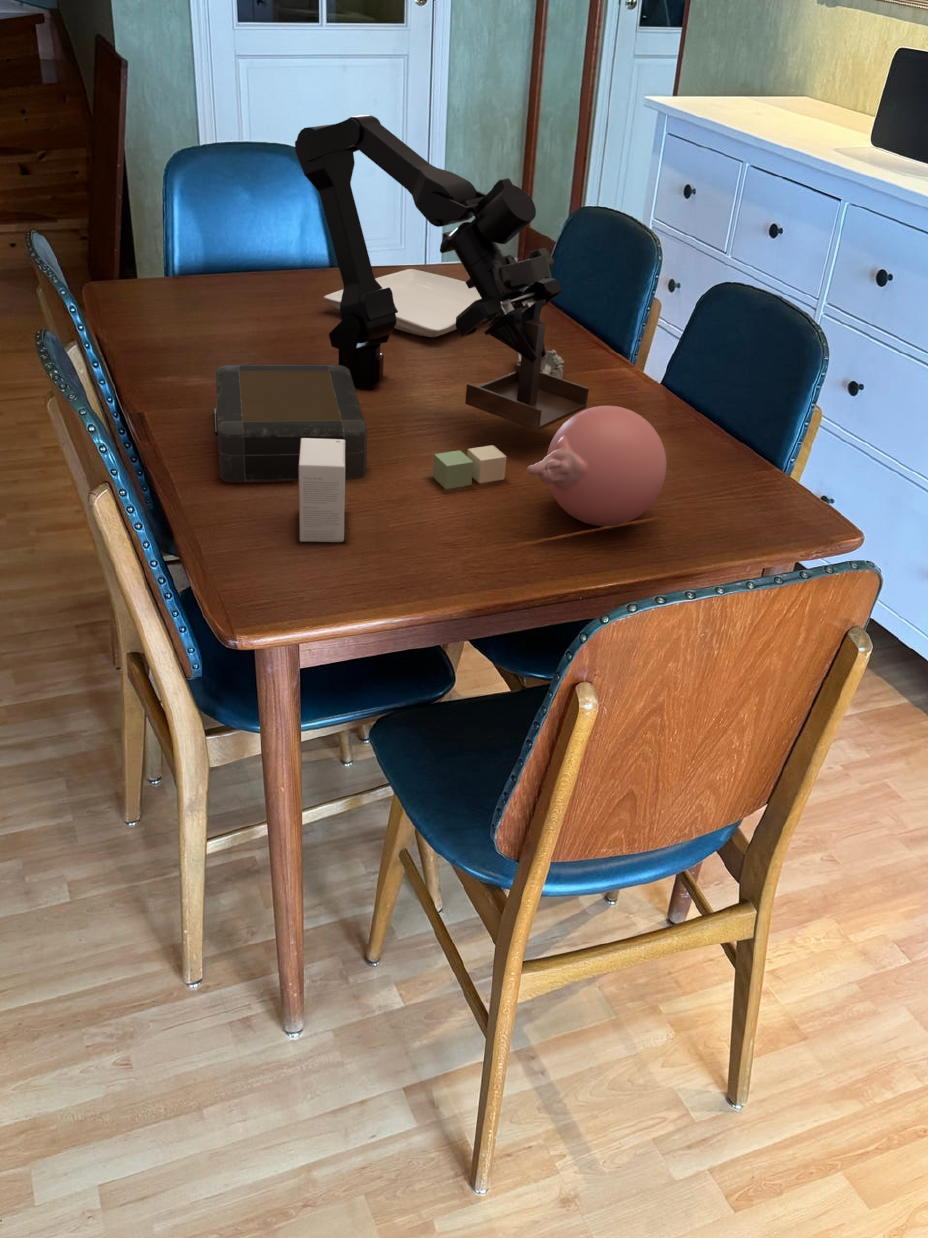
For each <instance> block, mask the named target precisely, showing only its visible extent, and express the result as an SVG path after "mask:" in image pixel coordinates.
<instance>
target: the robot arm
mask: <svg viewBox="0 0 928 1238" xmlns="http://www.w3.org/2000/svg"><path fill="white" fill-rule="evenodd" d="M294 149H295V155H296V158H297V159H298V162H299V165H300V167H301V170H302V172H303V175H304V176H305V178H307V180H308V181H309V182H310V183H311V184H312V186H313V187H314V188H315V189H316V190H317V192H318V194H319V197H320V200H321V205H322V209H323V213H324V216H325V220H326V223H327V228H328V232H329V235H330V239H331V242H332V246H333V249H334V254H335V257H336V261H337V265H338V269H339V273H340V276H341V280H342V284H343V294H342V299H341V303H340V309H339V311H340V317H341V320H340V322H339V323H338V324H337V325H335V327H334V328H333V329H332V330H331V331H330V332H328V337H329V341H330V346H331V347H332V348H334V349H337V350H338V365H342V366H344V367H346V368H348V369H349V370H350V374H351V377H352V380H353V384H354V387H355V388H358V389H366V390H374V389H375V388H376V386H377V385H378V384H379V383H380V382H381V380H382V379H383V378H384V359H385V357H384V356H385V355H384V353H381V345H382V344H386V343H388V342H389V339H390V337H391V333H393V331H394V329H395V328H394V326H395V325H396V314H395V313H398V310H397V309H396V307H395V304H394V301H393V294H392V291H391V289H390V287H387V288H382V287H381V286H380V284H379V283H378V282H377V281H376V280H375V279H376V277H375V275H374V271H373V267H372V263H371V259H370V255H369V251H368V248H367V244H366V239H365V236H364V232H363V229H362V224H361V221H360V216H359V213H358V209H357V204H356V201H355V198H354V197H355V196H354V194H353V190H352V185H351V184H352V183H351V182H352V178H353V174H354V173H353V172H354V169H355V165H356V164H355V156H354V153H356V152H359V151H360V152H361V154H363V155H364V156H365V157H367V158H368V159H369V160H370V161H371V162H373V163H374V164H375V165H377V167H379V168H380V169H381V170H383V172H385V173H386V174H387V175H389V176H390V177H391V178H392V179H394V181H396V182H397V183H398V184H400V185H401V186H402V187H403V188H404V189H406V190H407V191H408V193H409V194H410V195H411V197H412V200H413V203H414V206H415V208H416V209H417V210H418V211H419V212H420V213H421V215H422V216H423V217H424V218H425V219H426V221H428V222H429V223H430V225H432V226H434V227H437V228H439V227H440V228H442V227H446V226H450V225H455V224H458V223H460V224H459V225H458V226H457V227H456V228H455V229H454V230H449V231H445V232H443V233H442V239H441V243H440V245H439V253H440V254H445V253H449V252H452V251H453V252H455V255H456V256H457V258H458V260H459V261H460V264H461V265H462V267H463V269H464V270H465V272H466V274H467V276H468V277H469V279H468V280H467V281H465V282H466V285H467V286H468V288H469V289H470V288H473V287H475V288H476V290H477V291H478V293H479V295H480V297H481V298H482V299H479V300H476V301H474V302H473V303H472V304H471V305H470V306H468V307H467V308H466V309H465V310H464V311H463V312H462V313H460V314H459V315H458V316H457V317H456V328H457V329H456V330H457V332H458V333H459V335H460V337H461V338H465V337H469V336H471V335H474V334H475V333H476V332H477V327H478V326H479V325H480V324H481V323H483V322H485V321H487V325H488V328H487V329H486V330H485V331H484V332H483V333H484V334H485V335H486V336H490V337H492V338H495V340H498V341H500V342H501V343H503V344H504V345H506V346H508V347H509V348H511V349H512V350H514V352H516V353H517V354H518V353H519V354H521V355H522V356H524V357H525V358H526V359H528V360H529V361H531V362H533V361H535V360H536V359H537V355H536V352H535V350H534V347H533V345H532V343H531V341H530V339H529V337H528V335H527V333H526V331H525V329H524V326H525V322H526V321H529V320H531V319H533V320H536V321H539V322H541V313H542V309H543V307H545V306H546V305H548V303H550V302H551V301H552V300H554V299H555V298H556V297H557V296H558V295H560V294H561V293H563V289H562V287H561V285H560V283H559V282H558V280H557V278H553V276H552V272H551V270H553V268H554V266H555V260H554V259H553V257H552V255H551V254H550V252H549V251H548V250H547V248H546V247H542V248H538V249H535V250H531V251H530V252H529V257H528V259H525V260H522V261H517V260H516V257H514V256H513V255H511V254H508V255H504V253H503V251H502V250H501V248H500V246H499V245H506V244H508V243H509V242H510V241H511V240H513V238H515V237H516V236H517V235H518V234H519V233H520V232H521V231H522V230H523V229H524V228H526V226H528V225H529V224H530V223H531V222H532V221H533V220H534V219H535V218H536V216H537V209H536V205H535V203H534V200H533V199H532V197H531V196H530V195H528V193H526V192H525V191H524V189H522V188H521V187H519V186H517V185H515V184H513V181H512V180H511V179H510V178H509V177H507V178H502V179H499V180H498V181H497V182H496V183H495V184H494V185H493V187H492V188H491V189H490V190H489V192H487V193H484V192H481V191H479V190H477V189H476V187H475V186H474V184H473V183H472V182H471V181H469V180H467V179H466V178H464V177H463V176H460V175H458V174H456V173H454V172H452V171H449V170H446V169H442V168H438V167H436V166H434V165H433V164H431V163H429V162H428V161H427V160H426V159H424V157H422V156H421V155H419V153H417V152H416V151H415V150H414V149H413V148H411V147H410V146H409V145H408V144H406V143H405V142H403V141H402V140H401V139H400V138H399V137H398V136H396V135H395V134H393V132H391V131H390V130H389V129H387V127H385V126H384V125H383V124H382V123H381V121H380V119H378V117H375V116H374V115H372V114H365V115H357V116H350V117H348V118H347V119H344V120H343V121H340V122H338V123H334V124H324V125H317V126H308V127H304V128H302V129H301V130H300V131H299V132H298V135H297V139H296V140H295V141H294ZM473 217H474V219H473V220H472V221H469V220H470V219H472V218H473ZM498 244H499V245H498ZM545 345H546V344H545V341H544V342H543V351H542V358H543V357H544V356H545V355H546V350H547V349H546V350H545V348H546V346H545Z"/></svg>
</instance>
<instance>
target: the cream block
mask: <svg viewBox="0 0 928 1238" xmlns="http://www.w3.org/2000/svg"><path fill="white" fill-rule="evenodd" d="M466 456H467V457H468V458H469V459H470V460H472V461H473V471H472V479H473V480H475V481H476V482H477V483H478V484H483V483H484V484H485V483H491V482H496V481H502V480H505V476H506V465H507V455H506V454H504V452H502V451H501V450H499V448H497V447H496V446H495V445H494V444H493V445H485V446H479V447H472V448H467V454H466Z"/></svg>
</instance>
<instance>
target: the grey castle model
mask: <svg viewBox="0 0 928 1238" xmlns="http://www.w3.org/2000/svg"><path fill="white" fill-rule="evenodd" d="M545 350H546V355H545V356H544V357H543V358H542V360H541V368H540V371H541V372H544V373H546V374H549V375H552V376H555V377H558V378H561V379H563V377H564V370H563V368H564V367H565V360H564V359H563V358H562V357H561V356H559V355H558V354H557V351H556V350H555V349H553V348H552V349H551V350H547V348H546V347H545ZM517 355H518V356H517V357H518V358H517V364H521V354H519V353H518V352H517Z"/></svg>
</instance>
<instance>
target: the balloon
mask: <svg viewBox="0 0 928 1238" xmlns="http://www.w3.org/2000/svg"><path fill="white" fill-rule="evenodd" d="M526 471H527V474H528V475H534V476H538V478H539V481H541V482H542V483H543V484H545V485H548V487H549V490H550V492H551V494H552V496H553V498H554V500H555V501H556V502H557V504H558V505H559V507H560V508H561V509H563V510H564V512H565V513H567V514H568V515H569V516H571V517H573V518H574V519H576V520H578V521H580V522H582V523H585V524H587V525H591V526H595V527H613V526H614V527H615V526H619V525H623V524H626V523H628V522H631V521H633V520H634V519H637V518H638V517H640V516H641V515H643V514H644V513H645V512H646V511H648V510H649V508H650V507H651V506H652V505H653V504H654V503H655V501H656V500H657V498H658V497H659V495H660V493H661V492H662V489H663V485H664V483H665V480H666V475H667V454H666V449H665V447H664V444H663V442H662V439H661V437H660V435H659V434H658V432H657V430H656V429H655V428H654V426H653V425H652V424H651V423H650V422H649V421H648V420H646V419H645V417H643V416H641V415H640V414H639V413H637V412H635V411H632V410H631V409H628V408H626V407H622V406H616V405H598V406H593V407H589V408H585V409H582V410H580V411H578V412H576V413H575V414H573V416H571V417H569V418H568V419H567V420H566V421H565V422H564V423H563V424H562V425H561V426H560V427H559V428H558V429H557V431H556V432H555V433H554V436H553V437H552V440H551V441H550V444H549V446H548V450H547V453H546V456H545V457H544V458H543V459H542V460H540V461H539V462H536V463H535V464H531V465H528V467H527V468H526Z"/></svg>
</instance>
